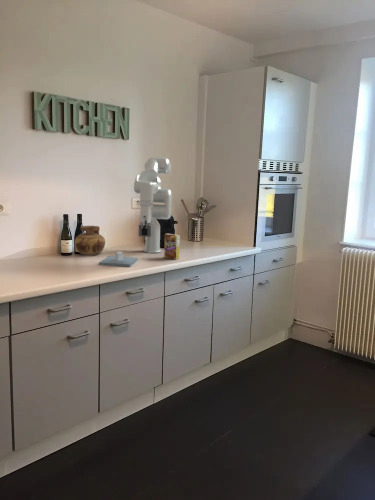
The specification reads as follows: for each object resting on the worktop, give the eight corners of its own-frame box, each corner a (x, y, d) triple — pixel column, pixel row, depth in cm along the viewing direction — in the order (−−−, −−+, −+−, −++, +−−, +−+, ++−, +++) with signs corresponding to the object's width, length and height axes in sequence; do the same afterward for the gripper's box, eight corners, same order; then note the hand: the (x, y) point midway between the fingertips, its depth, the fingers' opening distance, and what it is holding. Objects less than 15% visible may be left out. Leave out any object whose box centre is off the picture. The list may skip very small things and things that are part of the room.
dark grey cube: (141, 234, 259) (141, 223, 258) (152, 235, 259) (153, 224, 258) (138, 236, 253) (138, 224, 251) (150, 236, 252) (150, 225, 251)
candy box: (163, 258, 275) (164, 233, 272) (167, 256, 279) (168, 233, 276) (175, 259, 271) (176, 235, 268) (179, 258, 274) (180, 234, 272)
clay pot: (101, 253, 266) (89, 222, 264) (75, 262, 271) (63, 232, 269) (113, 248, 285) (102, 219, 282) (88, 256, 289) (77, 228, 287)
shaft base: (109, 258, 268) (109, 248, 267) (137, 260, 266) (138, 250, 265) (98, 265, 248) (98, 254, 247) (130, 266, 246) (130, 256, 245)
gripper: (143, 202, 261) (142, 231, 264) (136, 204, 244) (136, 236, 247) (155, 202, 260) (155, 232, 264) (149, 205, 243) (149, 236, 247)
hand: (145, 233), depth 255 cm, fingers closed on dark grey cube, 7 cm apart
